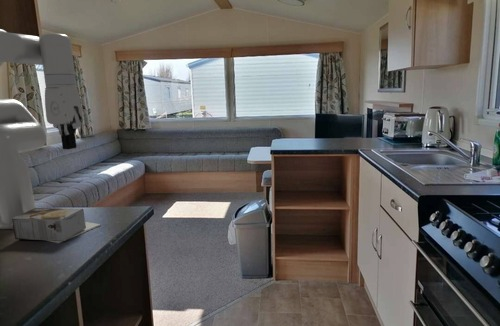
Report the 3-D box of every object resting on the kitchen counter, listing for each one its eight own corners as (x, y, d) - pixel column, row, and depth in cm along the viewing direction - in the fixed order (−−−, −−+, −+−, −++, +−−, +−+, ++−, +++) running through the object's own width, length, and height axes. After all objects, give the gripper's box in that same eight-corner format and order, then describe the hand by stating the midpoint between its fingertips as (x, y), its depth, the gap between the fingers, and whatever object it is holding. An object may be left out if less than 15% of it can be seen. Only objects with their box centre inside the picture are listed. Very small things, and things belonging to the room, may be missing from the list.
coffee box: (86, 229, 107) (39, 227, 110) (83, 208, 105) (36, 207, 109) (65, 241, 98) (14, 239, 101) (61, 218, 97) (10, 217, 100)
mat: (23, 235, 105) (23, 234, 105) (66, 219, 117) (66, 218, 117) (58, 243, 98) (58, 241, 98) (100, 225, 110) (100, 224, 110)
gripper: (31, 83, 100) (41, 149, 103) (65, 80, 92) (74, 152, 96) (56, 83, 106) (65, 145, 109) (90, 80, 99) (98, 147, 102)
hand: (69, 148), depth 103 cm, fingers closed
